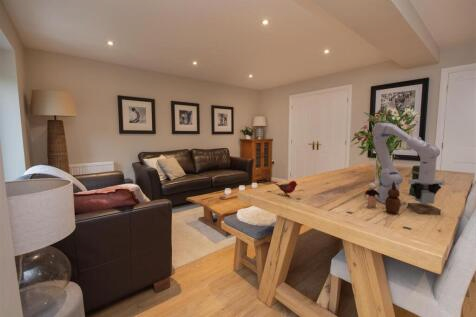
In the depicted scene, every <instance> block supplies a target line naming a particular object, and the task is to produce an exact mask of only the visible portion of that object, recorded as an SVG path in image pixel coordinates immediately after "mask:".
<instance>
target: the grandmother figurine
mask: <svg viewBox="0 0 476 317" xmlns="http://www.w3.org/2000/svg"><path fill="white" fill-rule="evenodd" d="M376 188H377V185H376V184H375V183H374V182H371V183H368V189H369V190H366V191H365V192H364V194H363V198H366V197H367V205H366V208H368V209H377V199H376V198H377V196H378V198H380V195H379V193H378V192H377V189H376Z"/></svg>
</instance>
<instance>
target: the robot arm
mask: <svg viewBox="0 0 476 317" xmlns="http://www.w3.org/2000/svg"><path fill="white" fill-rule="evenodd" d="M371 132H372V133H373V135H372V142H373V145H374V150H375V151H376V154H377V157H378V160H379V163H380V167H381V170H382V171H381V170H380V172H381V173H380V172H379V176H380V175H381V179H380V178H379V181H380V180H381V183H382V184H383V185H382V186H379V185H378V186H377V187H376V188H377V189H376V191H377V192H378V193H379V195H380V198H378V196H377V195H376V201H377V200H378V201H379V202H380V203H383V204H385V202H386V198H387V197H389V196H388V190H389V189H392V183H393V181H394V182H395V187H396V190H399V191H400V185H401V184H402V183H403V176H402V175H401V174H400V172H399V170H398V169H397V168H395V166H394V163H393V161H392V158H391V155H390V152H389V149H388V146H387V143H386V140H387V139H388V138H389V137H390V136H392V135H393V136H395V137H397V138H398V139H400V140H402V141H403V142H405V143H406V146H407V147H409V148H410V149H411V150H413V151H415V153H418V157H419V158H420V160H419V161H420V163H419V166H420V170H419V179H412V178H411V179H408V180H407V183H408V184H409V185H410V186H411V185H412V187H413V189H414V192H415V196H416V198H417V199H420V198H421V192H422V189H423V186H421V185H420V184H428V189H429V192H432V193H435V195H434V197H435V196H436V194H437V193H438V192H439V190H440V189H441V188H442V186H444V185H445V183H446V182H445V181H444V180H441V179H440V180H439V179H438V180H437V179H435V177H436V176H435V175H436V167H437V159H438V157H439V156H440V154H441V150H440V149H439V148H438V146H436V145H431V143H430V142H426V141H424V140H422V137H420V136H411V135H410V134H408V133H407V132H406V131H404V130H403V129H402V128H400V127H398V125H396V124H394V123H391V122H388V123H387V122H386V123H385V122H377V123H376V124H374V126H373V128H372V131H371ZM415 196H414V197H415ZM400 205H402V202H401V201H400Z"/></svg>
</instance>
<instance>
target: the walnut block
mask: <svg viewBox="0 0 476 317" xmlns="http://www.w3.org/2000/svg"><path fill="white" fill-rule="evenodd" d="M406 208H407V209H409V210H411V211H412V212H415V213H417V214H418V215H431V216H432V215H433V216H434V215H435V216H436V215H437V216H441V213H442V212H441V211H442V209H441V208H438V207H436V206H433V205H432V204H428V203H420V202H407V205H406Z"/></svg>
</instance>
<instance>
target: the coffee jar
mask: <svg viewBox="0 0 476 317" xmlns="http://www.w3.org/2000/svg"><path fill="white" fill-rule="evenodd" d="M419 170H420V165H413V166H412V169H411V174H412V175H411V176H412V177H411V179H419ZM420 185H421V186H423V189H422V191H429V189H428V184H420ZM408 194H410V195H411V196H414V197H415V192H414V189H413V187H412V185H411V184H410V187H409V192H408Z"/></svg>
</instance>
